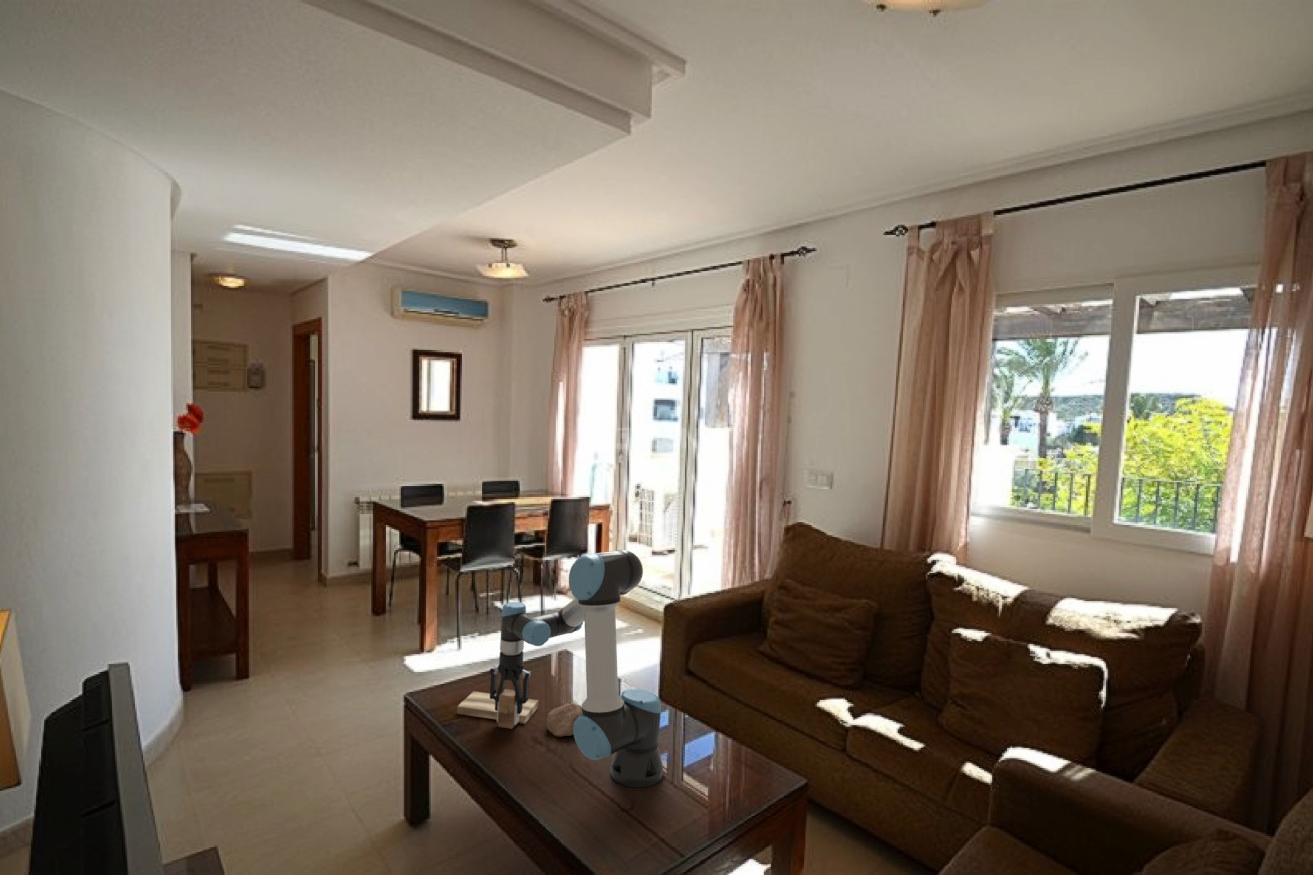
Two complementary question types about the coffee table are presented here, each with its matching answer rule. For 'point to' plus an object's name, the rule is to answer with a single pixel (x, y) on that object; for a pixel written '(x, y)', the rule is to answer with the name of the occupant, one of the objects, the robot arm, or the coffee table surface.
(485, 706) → the board
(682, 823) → the coffee table surface
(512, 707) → the block
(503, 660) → the robot arm
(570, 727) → the stone
